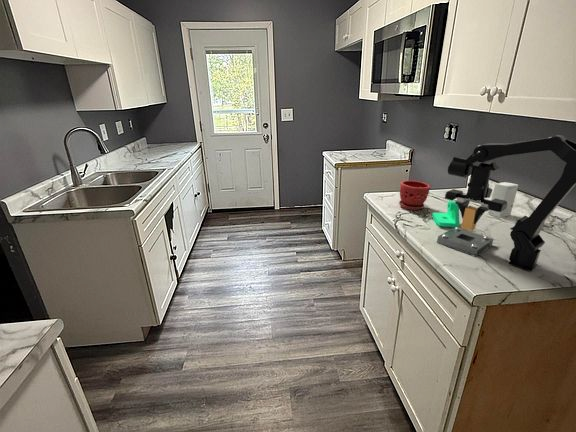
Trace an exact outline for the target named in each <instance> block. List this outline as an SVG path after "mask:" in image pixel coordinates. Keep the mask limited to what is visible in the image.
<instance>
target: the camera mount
mask: <svg viewBox="0 0 576 432" xmlns="http://www.w3.org/2000/svg"><path fill="white" fill-rule="evenodd" d="M456 201H457V200H448V201H447V205H446V210H447V211H446V212H435V211H434V212H432V215H431V217H432V218H433V223H434V224H435V225H436V226H437V225H438V226H439V227H446V228H448V227H449V228H454V227H459V226H460V209H459V207H458V204H456V203H455V202H456ZM459 228H460V227H459Z"/></svg>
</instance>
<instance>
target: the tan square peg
mask: <svg viewBox="0 0 576 432" xmlns="http://www.w3.org/2000/svg"><path fill="white" fill-rule="evenodd" d="M477 208H478V207H476V206H473V205H468V207H466V208H465V212H464V217H463V219H462V222H461V226H460V228H461V229H464V230H467V231H470V232H473V231H474V230H476V226H477V223H476V224H474V220H475V216H476V212H477Z"/></svg>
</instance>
